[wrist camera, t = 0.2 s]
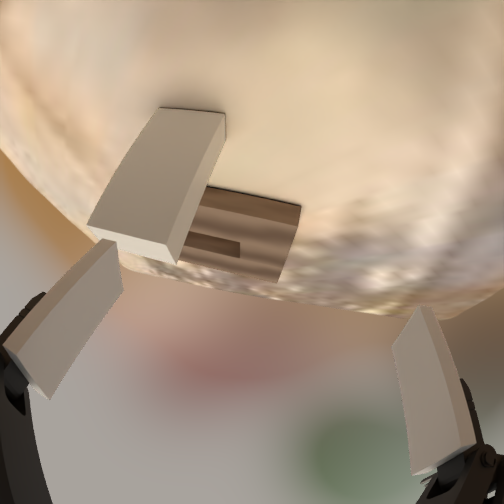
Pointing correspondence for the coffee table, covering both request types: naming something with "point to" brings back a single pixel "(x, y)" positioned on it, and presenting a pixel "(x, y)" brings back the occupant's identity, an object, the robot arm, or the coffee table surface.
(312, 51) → the coffee table surface
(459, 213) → the coffee table surface
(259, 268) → the brown slotted base plate
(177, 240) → the tall cream pillar
